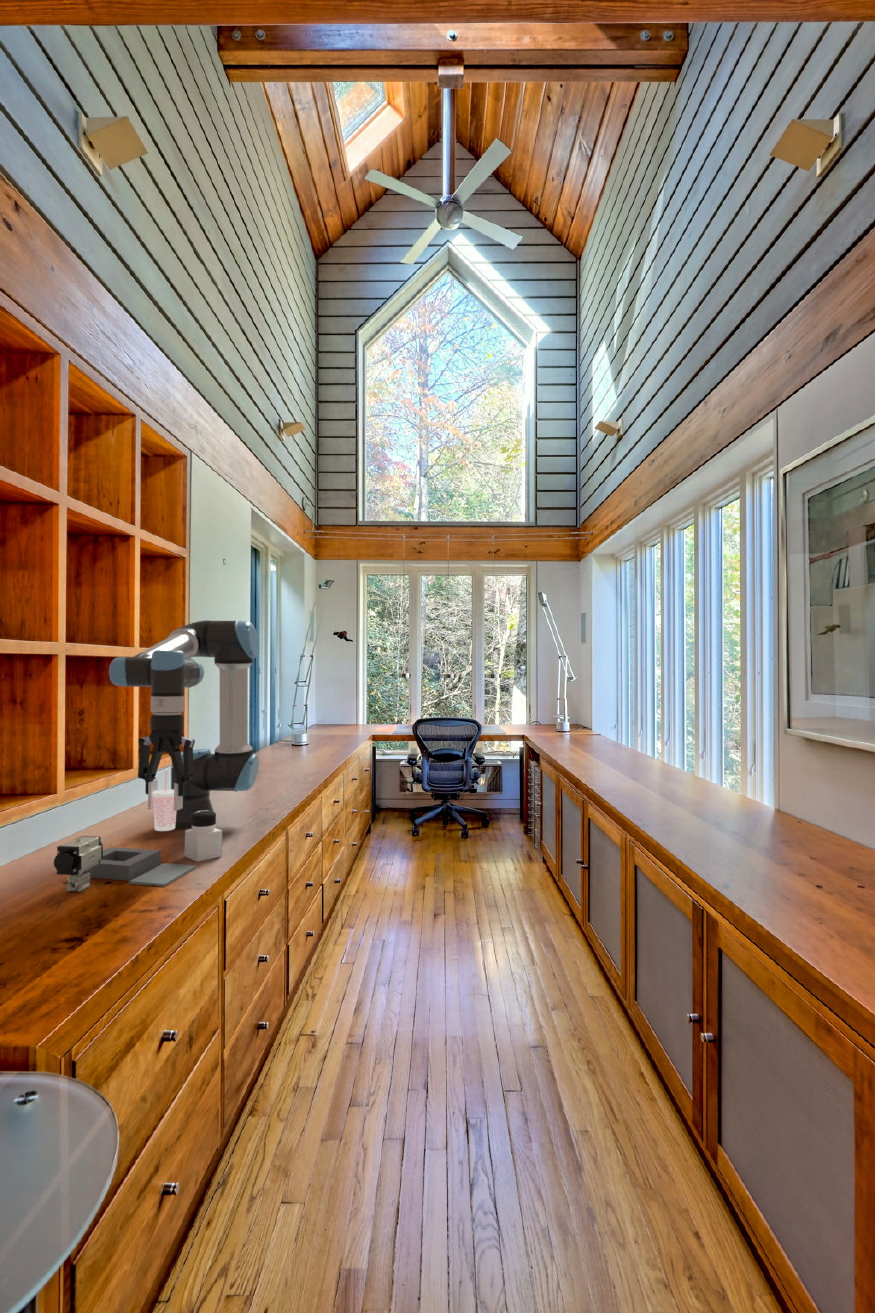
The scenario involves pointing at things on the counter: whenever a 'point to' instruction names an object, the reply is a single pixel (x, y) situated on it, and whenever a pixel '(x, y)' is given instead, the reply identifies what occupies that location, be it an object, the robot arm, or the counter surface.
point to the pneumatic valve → (78, 860)
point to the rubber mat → (163, 874)
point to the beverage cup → (164, 808)
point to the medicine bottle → (203, 837)
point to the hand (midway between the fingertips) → (165, 808)
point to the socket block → (124, 863)
